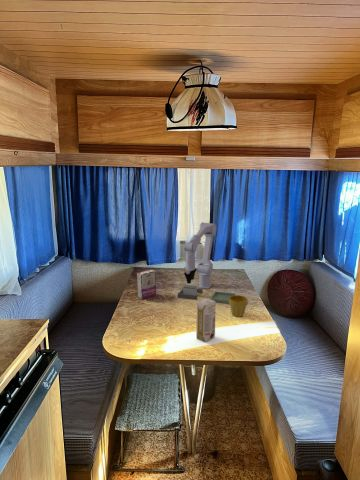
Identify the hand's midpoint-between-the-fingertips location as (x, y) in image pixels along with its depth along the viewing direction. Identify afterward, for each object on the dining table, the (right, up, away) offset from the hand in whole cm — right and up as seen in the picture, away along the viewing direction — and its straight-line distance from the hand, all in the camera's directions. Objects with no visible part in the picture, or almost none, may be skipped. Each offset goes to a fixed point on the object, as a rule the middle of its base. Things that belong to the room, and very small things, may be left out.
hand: (190, 281), depth 233 cm
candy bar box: (-28, -10, 0) cm, 29 cm away
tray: (+20, -10, -4) cm, 23 cm away
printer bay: (0, -9, +2) cm, 9 cm away
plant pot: (+26, -16, -28) cm, 41 cm away
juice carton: (+6, -21, -55) cm, 60 cm away
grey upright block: (0, -9, +2) cm, 10 cm away
